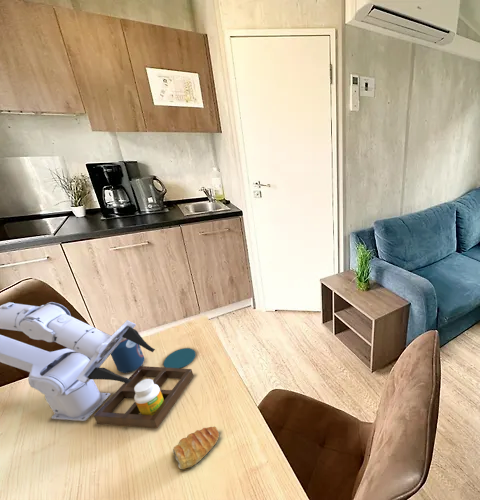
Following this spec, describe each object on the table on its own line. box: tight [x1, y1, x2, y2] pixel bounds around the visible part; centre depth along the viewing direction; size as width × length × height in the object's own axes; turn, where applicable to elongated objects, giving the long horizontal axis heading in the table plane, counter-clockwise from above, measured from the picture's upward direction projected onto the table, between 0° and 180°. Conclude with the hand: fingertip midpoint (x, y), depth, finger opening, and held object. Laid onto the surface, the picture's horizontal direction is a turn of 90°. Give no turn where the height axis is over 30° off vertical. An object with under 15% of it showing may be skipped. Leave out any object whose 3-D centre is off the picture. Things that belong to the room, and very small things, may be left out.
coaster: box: [163, 347, 196, 369], centre depth 92 cm, size 9×9×1 cm
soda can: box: [110, 334, 145, 374], centre depth 86 cm, size 7×7×12 cm
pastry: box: [172, 426, 220, 470], centre depth 66 cm, size 9×7×4 cm
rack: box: [92, 365, 194, 429], centre depth 78 cm, size 16×16×3 cm
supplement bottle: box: [133, 378, 164, 416], centre depth 73 cm, size 5×5×10 cm
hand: (141, 365), depth 68 cm, fingers open, 7 cm apart
